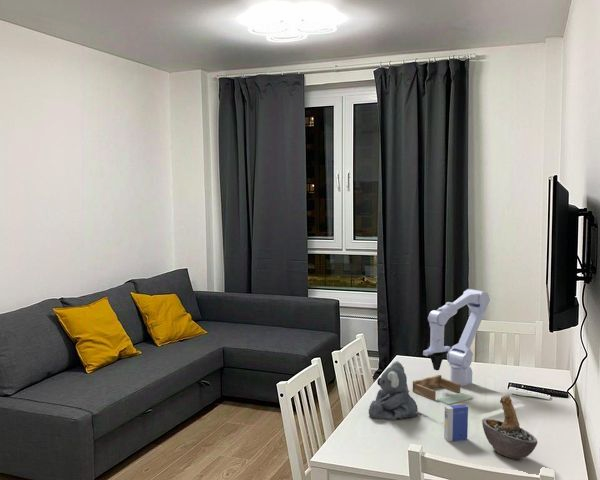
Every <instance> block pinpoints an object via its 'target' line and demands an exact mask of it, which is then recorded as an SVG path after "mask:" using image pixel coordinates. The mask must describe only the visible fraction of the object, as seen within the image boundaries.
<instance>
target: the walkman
mask: <svg viewBox="0 0 600 480" xmlns="http://www.w3.org/2000/svg"><path fill="white" fill-rule="evenodd" d="M443 422H444V425H443V427H444V428H443V429H444V434H443V438H444V440H445V441H446V442H454V441H455V442H456V441H463V440H468V431H469V430H468V429H469V428H468V427H469V426H468V423H469V407H468V406H467V405H466V404H465V403H459V404H451V405H446V406H445V405H444V421H443Z"/></svg>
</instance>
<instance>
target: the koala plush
mask: <svg viewBox="0 0 600 480" xmlns="http://www.w3.org/2000/svg"><path fill="white" fill-rule="evenodd" d="M407 381H408V379H407V375H406V372H405V367H404V366H403V364H402V363H401V362H400V361H399V360H397V361H394V362H391V365H390V366H389V367H388V368H387V369H386V370H385V371H384V372H383V373H382V375H381V376H380V377H378V379H377V382H376V383H377V385H378V386H379V387H380V389H379V390H377V391H378V392H377V393H376V397H375V400H372V401H371V402H370V404H369V408H368V415H369V417H372V418H374V419H381V420H391V421H397V419H400V420H402V419H405V418H414V417H415V416H416V415H417V413H418V409H419V408H418V405H417V403H416V401H415V399H414V398H413V396H411V395H410V393H409V391H408V392H407V388H406V386H408V383H407Z"/></svg>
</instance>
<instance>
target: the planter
mask: <svg viewBox="0 0 600 480" xmlns="http://www.w3.org/2000/svg"><path fill="white" fill-rule="evenodd" d="M499 402H500V404H501V405H502V409H503V414H504V415H503V416H504V419H503V421H502V420H497V419H493V418H492V419H491V418H482V420H481V422H482V428H483V432H484V435H485V437H486V439H487V441H488V443H489V444H490V445H491V446H492V449H493V450H494V451H495V452H497V453H498V454H500V456H503V457H506V458H508V459H512V460H519V461H520V460H523V458H524V459H525V458H527V457H529V456H530V455H531V454H532V453H533V452H534V450H535V448H536V447H537V445H538V442H539V441H538V439H537V438H536V437H535V436H534V435H533V434H532V433H530V432H529V431H527V430H525V429H523V428H522V427H520V423H519V420H518V416H517V412H516V410H515V407H514V405H513V402H512V399H511V397H510V395H507V394H506V395H503V396H501V398H500V399H499Z"/></svg>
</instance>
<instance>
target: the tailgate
mask: <svg viewBox="0 0 600 480" xmlns="http://www.w3.org/2000/svg"><path fill="white" fill-rule="evenodd" d="M472 399H473V396H470V395H468V394H465V393H462V392H460V393H453V394H451V395H447V396H443V397H439V398H437V399H436V401H437V402H440V403H442V404H445V405H446V406H452V405H456V404H458V403H461V402H464V401H469V400H472Z"/></svg>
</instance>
